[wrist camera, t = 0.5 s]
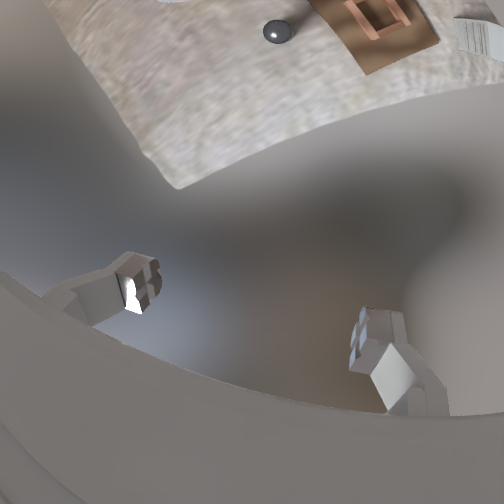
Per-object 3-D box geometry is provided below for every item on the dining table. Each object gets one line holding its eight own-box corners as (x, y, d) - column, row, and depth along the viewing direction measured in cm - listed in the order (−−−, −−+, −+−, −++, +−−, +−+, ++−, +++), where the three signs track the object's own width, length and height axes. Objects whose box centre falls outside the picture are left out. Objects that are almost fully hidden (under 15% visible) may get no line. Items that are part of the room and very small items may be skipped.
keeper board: (300, -8, 30) (299, -11, 27) (377, -42, 20) (383, -47, 17) (365, 74, 39) (370, 78, 37) (436, 42, 30) (446, 44, 27)
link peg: (266, 30, 37) (257, 29, 29) (284, 19, 35) (279, 14, 26) (280, 45, 39) (275, 48, 30) (298, 34, 36) (297, 34, 28)
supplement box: (479, 24, 22) (516, 31, 13) (483, 55, 27) (518, 68, 18) (452, 16, 24) (486, 19, 15) (456, 49, 29) (491, 59, 20)
